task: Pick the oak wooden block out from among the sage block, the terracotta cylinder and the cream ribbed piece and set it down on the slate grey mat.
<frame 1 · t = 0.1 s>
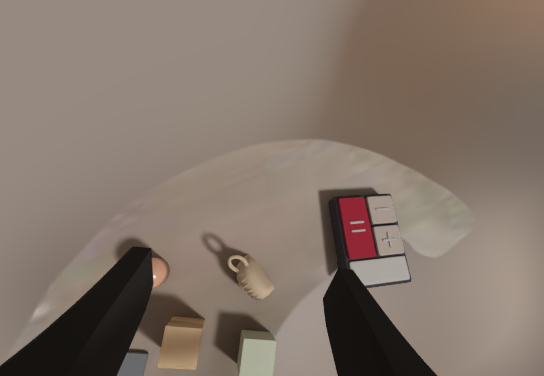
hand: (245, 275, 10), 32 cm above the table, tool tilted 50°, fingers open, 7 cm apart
cream ribbed piece: (250, 274, 41), on the table
oak block: (185, 334, 37), on the table
sage block: (253, 347, 38), on the table
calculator: (361, 239, 46), on the table
terracotta cylinder: (155, 271, 38), on the table
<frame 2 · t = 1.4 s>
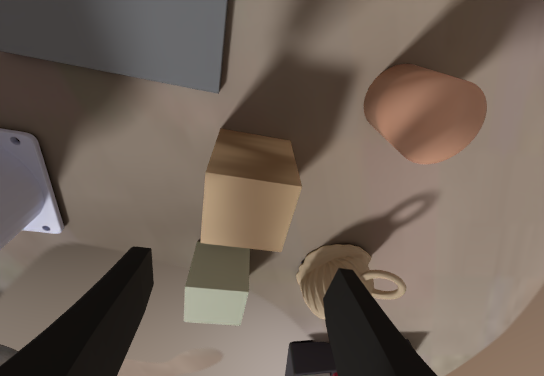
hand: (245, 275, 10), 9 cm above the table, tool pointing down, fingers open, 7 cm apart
cream ribbed piece: (334, 257, 24), on the table
oak block: (250, 165, 18), on the table
sage block: (221, 261, 23), on the table
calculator: (341, 357, 35), on the table
terracotta cylinder: (396, 99, 16), on the table
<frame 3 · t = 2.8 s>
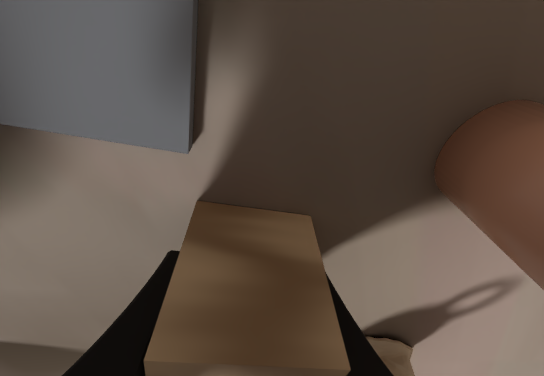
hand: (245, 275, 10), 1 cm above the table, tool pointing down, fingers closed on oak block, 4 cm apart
cream ribbed piece: (362, 347, 17), on the table
oak block: (247, 248, 11), on the table, touching gripper
terracotta cylinder: (491, 156, 9), on the table
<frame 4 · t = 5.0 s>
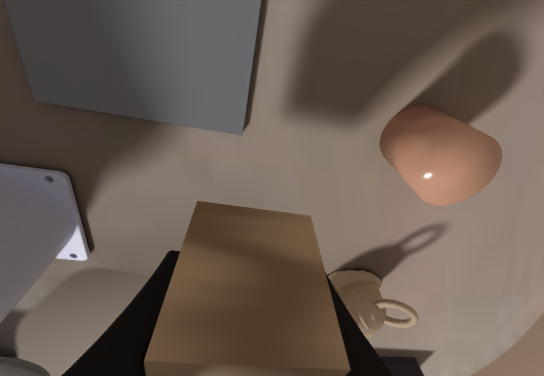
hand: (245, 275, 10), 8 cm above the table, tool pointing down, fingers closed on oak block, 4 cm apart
cream ribbed piece: (346, 281, 25), on the table
oak block: (247, 248, 11), point 7 cm above the table, touching gripper
cereal bowl: (15, 369, 31), on the table
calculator: (347, 370, 36), on the table
terracotta cylinder: (411, 136, 16), on the table
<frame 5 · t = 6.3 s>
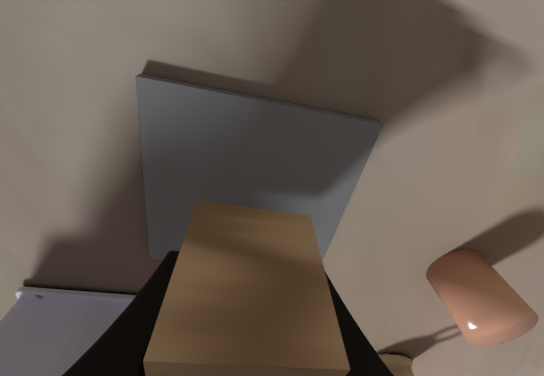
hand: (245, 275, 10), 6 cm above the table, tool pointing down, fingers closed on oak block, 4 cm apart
cream ribbed piece: (381, 359, 28), on the table
oak block: (247, 248, 11), point 4 cm above the table, touching gripper
slate mat: (249, 195, 15), on the table
terracotta cylinder: (453, 268, 19), on the table
when the fingers open (4 cm above the table, at t = 7.5 s): oak block drops 2 cm, resting on slate mat.
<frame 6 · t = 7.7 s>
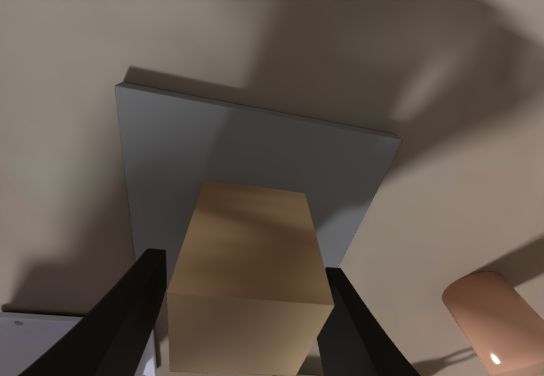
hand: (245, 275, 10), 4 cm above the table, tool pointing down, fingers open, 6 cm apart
oak block: (248, 224, 13), point 1 cm above the table, touching slate mat
slate mat: (248, 216, 13), on the table
terracotta cylinder: (472, 290, 18), on the table
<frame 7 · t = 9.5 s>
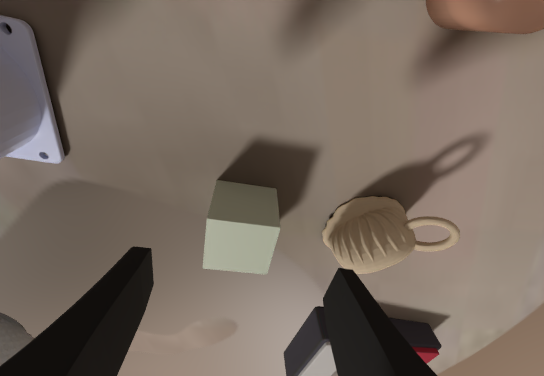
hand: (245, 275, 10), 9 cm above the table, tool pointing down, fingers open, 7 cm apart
cream ribbed piece: (365, 214, 21), on the table
sage block: (243, 207, 20), on the table
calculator: (352, 335, 33), on the table
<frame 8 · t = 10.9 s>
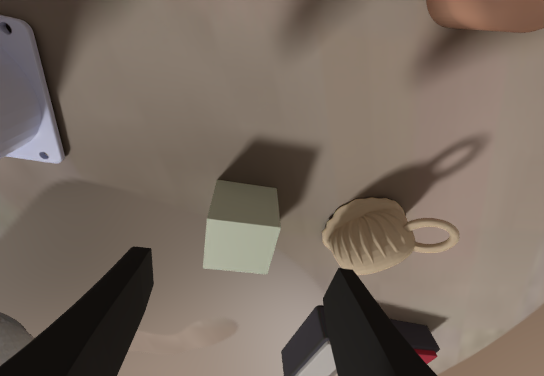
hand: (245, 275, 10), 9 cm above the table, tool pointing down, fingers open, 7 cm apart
cream ribbed piece: (365, 215, 22), on the table
sage block: (243, 206, 20), on the table
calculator: (351, 335, 33), on the table
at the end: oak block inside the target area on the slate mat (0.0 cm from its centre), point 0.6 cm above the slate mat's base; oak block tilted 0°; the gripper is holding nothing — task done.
